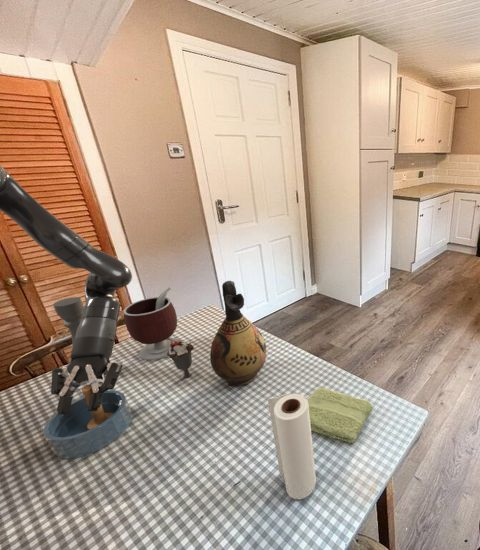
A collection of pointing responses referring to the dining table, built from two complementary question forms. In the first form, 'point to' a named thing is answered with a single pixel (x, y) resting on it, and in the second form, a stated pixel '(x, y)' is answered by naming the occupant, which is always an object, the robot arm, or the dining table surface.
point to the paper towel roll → (293, 443)
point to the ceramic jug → (237, 343)
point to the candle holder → (71, 314)
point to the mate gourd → (152, 325)
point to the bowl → (73, 427)
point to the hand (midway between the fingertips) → (78, 412)
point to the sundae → (181, 356)
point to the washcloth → (337, 414)
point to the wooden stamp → (97, 415)
